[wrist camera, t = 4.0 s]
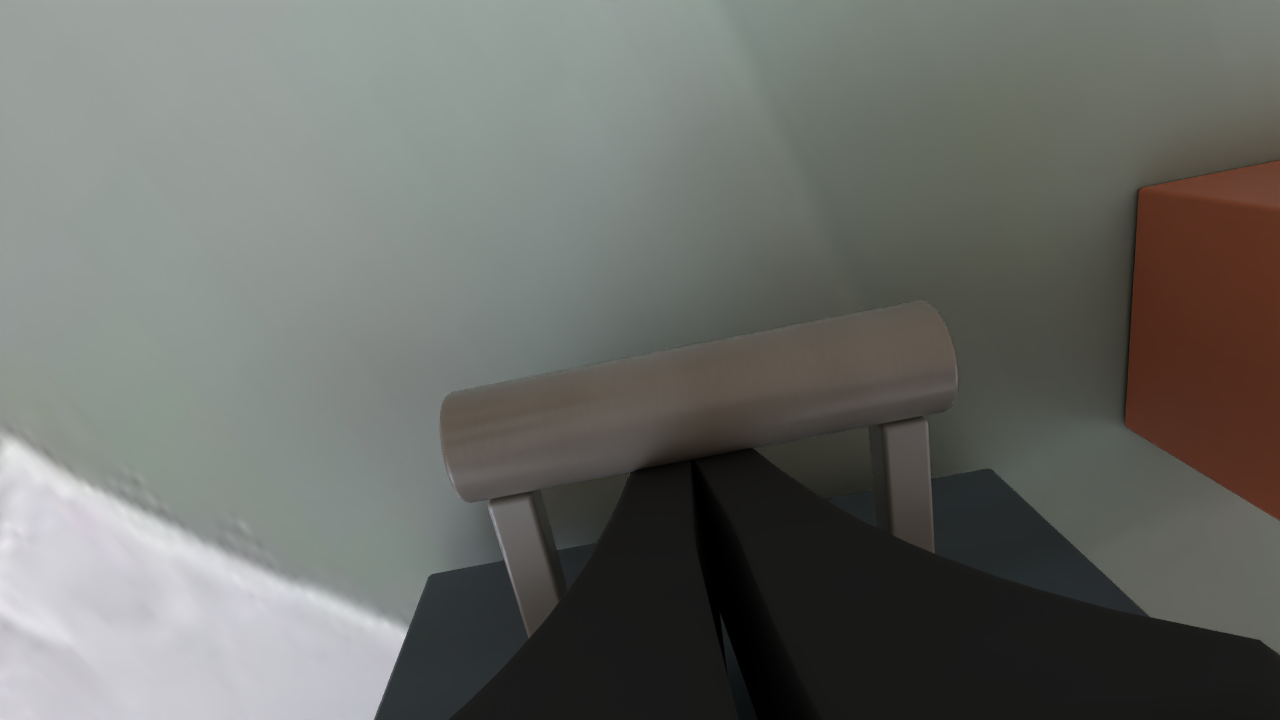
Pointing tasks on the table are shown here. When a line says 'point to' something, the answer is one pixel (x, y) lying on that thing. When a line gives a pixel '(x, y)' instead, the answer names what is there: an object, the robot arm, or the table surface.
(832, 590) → the robot arm
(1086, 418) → the table surface
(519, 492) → the drawer
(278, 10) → the table surface
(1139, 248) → the block
